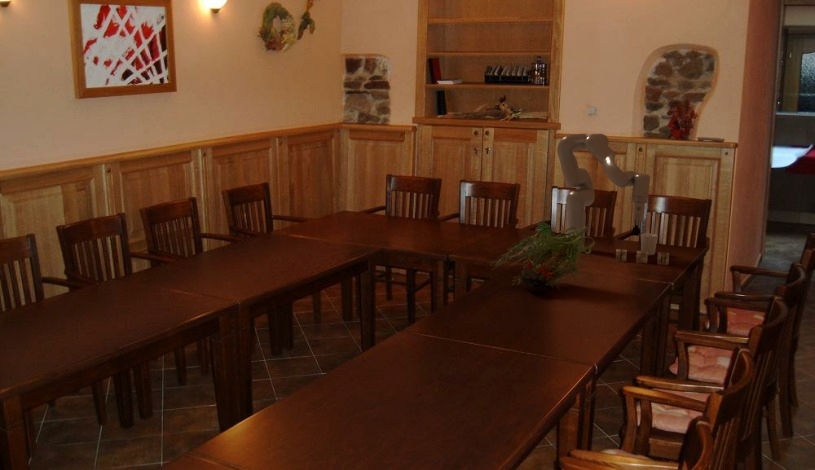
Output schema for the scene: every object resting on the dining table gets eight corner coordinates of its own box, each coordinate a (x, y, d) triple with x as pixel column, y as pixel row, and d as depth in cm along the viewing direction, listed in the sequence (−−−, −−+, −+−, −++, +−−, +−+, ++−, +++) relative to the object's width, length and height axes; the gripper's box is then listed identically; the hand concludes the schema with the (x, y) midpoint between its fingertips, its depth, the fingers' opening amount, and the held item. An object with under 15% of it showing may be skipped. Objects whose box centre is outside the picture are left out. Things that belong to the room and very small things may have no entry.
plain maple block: (636, 262, 418) (637, 252, 417) (636, 260, 422) (637, 250, 421) (647, 263, 416) (647, 253, 415) (646, 261, 421) (647, 251, 420)
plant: (483, 264, 372) (542, 216, 390) (534, 326, 369) (591, 275, 387) (516, 237, 341) (578, 186, 359) (572, 305, 338) (632, 250, 356)
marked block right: (657, 264, 415) (658, 254, 414) (657, 262, 420) (658, 252, 419) (668, 265, 414) (669, 255, 413) (667, 262, 419) (668, 252, 418)
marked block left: (615, 261, 420) (616, 251, 419) (615, 258, 425) (616, 249, 424) (625, 261, 419) (626, 251, 418) (625, 259, 424) (626, 249, 423)
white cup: (657, 255, 433) (659, 236, 431) (642, 255, 434) (643, 236, 432) (653, 252, 441) (655, 233, 439) (638, 252, 441) (639, 233, 439)
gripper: (647, 202, 408) (643, 239, 412) (647, 197, 422) (642, 233, 426) (631, 200, 410) (627, 237, 414) (631, 195, 424) (627, 231, 428)
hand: (635, 235), depth 420 cm, fingers closed
